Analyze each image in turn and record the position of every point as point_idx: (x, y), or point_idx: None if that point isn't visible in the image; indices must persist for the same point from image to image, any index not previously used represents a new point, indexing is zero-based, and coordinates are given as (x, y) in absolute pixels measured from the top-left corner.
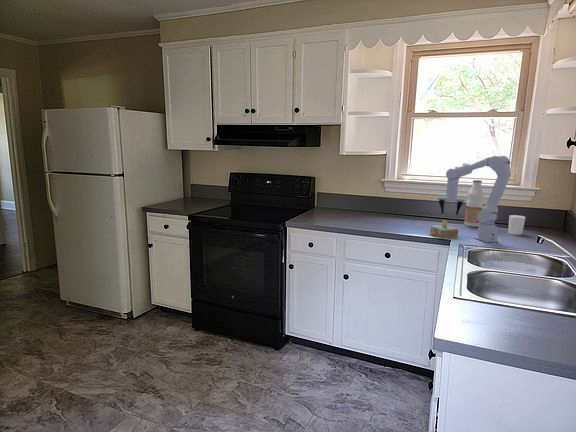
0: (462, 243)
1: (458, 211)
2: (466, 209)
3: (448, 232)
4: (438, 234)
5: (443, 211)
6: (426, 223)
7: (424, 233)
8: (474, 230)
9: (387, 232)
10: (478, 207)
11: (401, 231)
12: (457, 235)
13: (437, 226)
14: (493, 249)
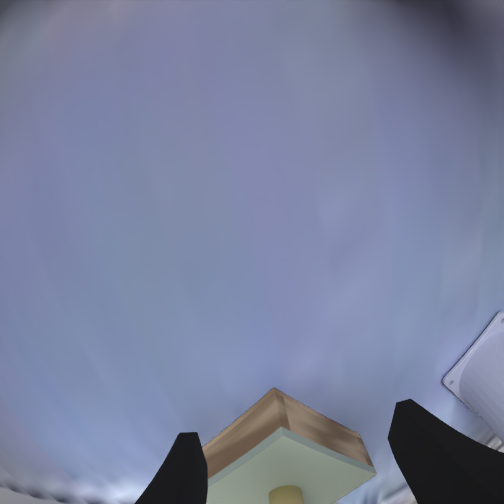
0: (378, 488)
1: (437, 428)
2: None
3: None
4: None
5: (198, 463)
6: (18, 107)
7: (160, 457)
8: (444, 112)
9: (50, 489)
10: None
11: (61, 462)
12: (361, 444)
13: (236, 501)
14: None
